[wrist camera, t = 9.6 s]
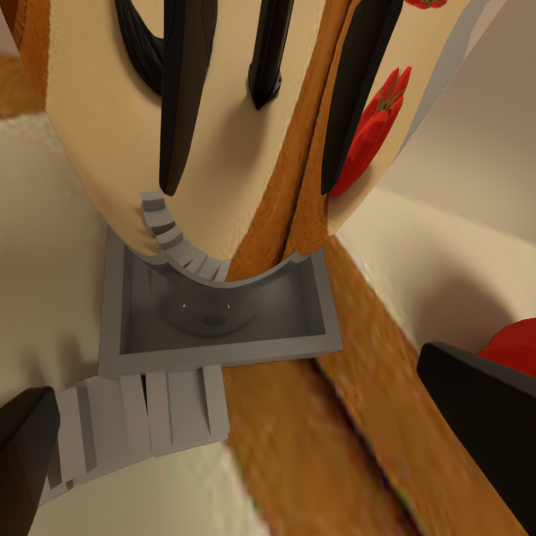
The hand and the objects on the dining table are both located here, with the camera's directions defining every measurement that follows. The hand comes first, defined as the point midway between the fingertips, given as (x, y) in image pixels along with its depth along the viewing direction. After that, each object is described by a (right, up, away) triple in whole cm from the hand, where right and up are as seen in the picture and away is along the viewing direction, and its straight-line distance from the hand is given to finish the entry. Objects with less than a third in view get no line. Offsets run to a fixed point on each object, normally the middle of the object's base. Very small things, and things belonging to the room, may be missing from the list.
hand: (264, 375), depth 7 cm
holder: (-3, +2, +10) cm, 11 cm away
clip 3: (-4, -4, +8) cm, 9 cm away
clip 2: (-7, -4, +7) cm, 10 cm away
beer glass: (-3, +2, +9) cm, 10 cm away
